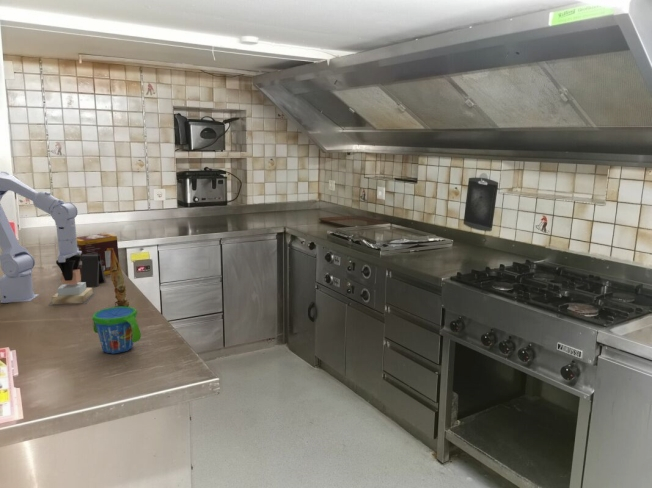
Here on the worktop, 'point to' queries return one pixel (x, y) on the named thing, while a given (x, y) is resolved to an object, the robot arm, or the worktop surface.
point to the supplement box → (98, 248)
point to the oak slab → (72, 297)
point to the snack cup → (116, 328)
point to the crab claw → (118, 280)
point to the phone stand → (92, 270)
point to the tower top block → (72, 289)
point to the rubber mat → (76, 303)
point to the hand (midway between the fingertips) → (71, 278)
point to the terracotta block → (75, 278)
